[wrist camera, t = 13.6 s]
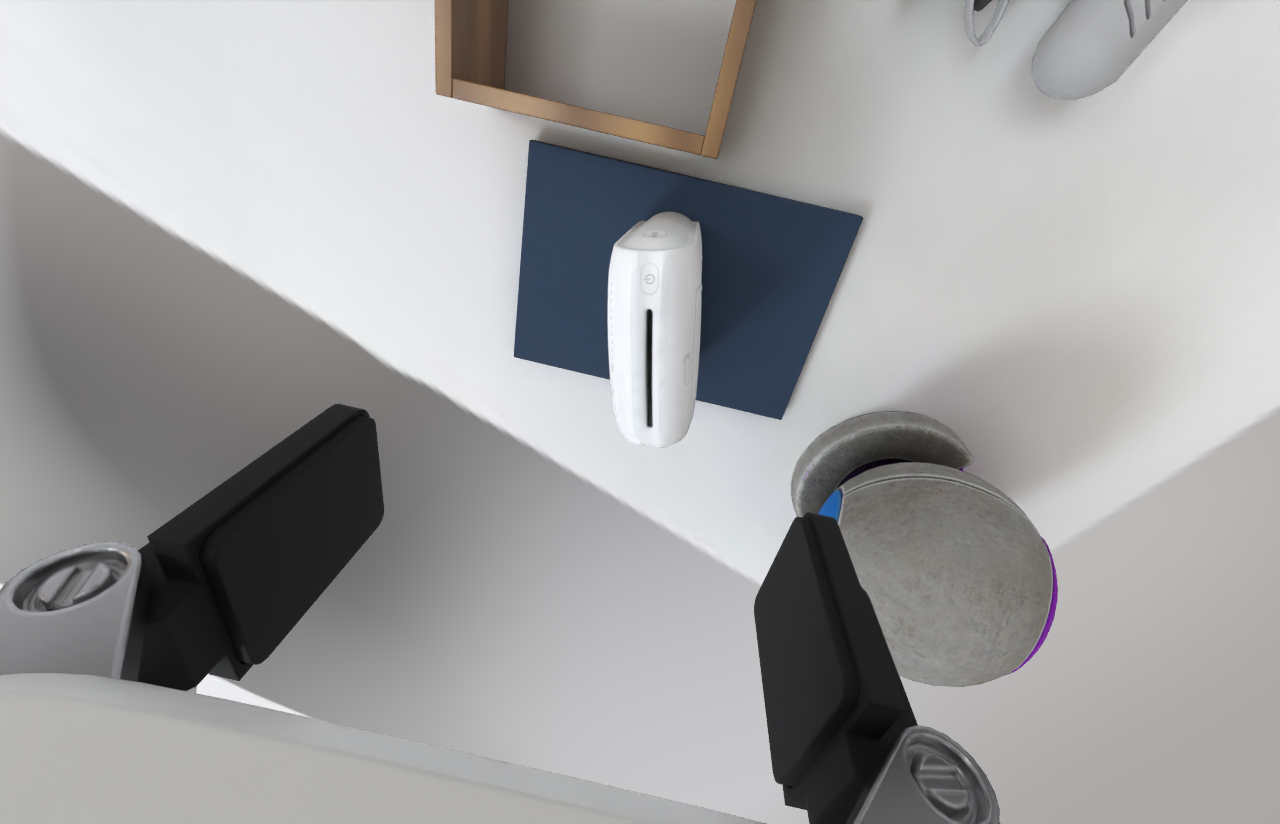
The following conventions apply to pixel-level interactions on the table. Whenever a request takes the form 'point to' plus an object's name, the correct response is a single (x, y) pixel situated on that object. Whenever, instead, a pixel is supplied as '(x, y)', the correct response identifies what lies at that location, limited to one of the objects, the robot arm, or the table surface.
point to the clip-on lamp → (1086, 42)
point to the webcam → (932, 547)
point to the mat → (731, 271)
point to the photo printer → (655, 328)
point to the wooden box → (476, 74)
